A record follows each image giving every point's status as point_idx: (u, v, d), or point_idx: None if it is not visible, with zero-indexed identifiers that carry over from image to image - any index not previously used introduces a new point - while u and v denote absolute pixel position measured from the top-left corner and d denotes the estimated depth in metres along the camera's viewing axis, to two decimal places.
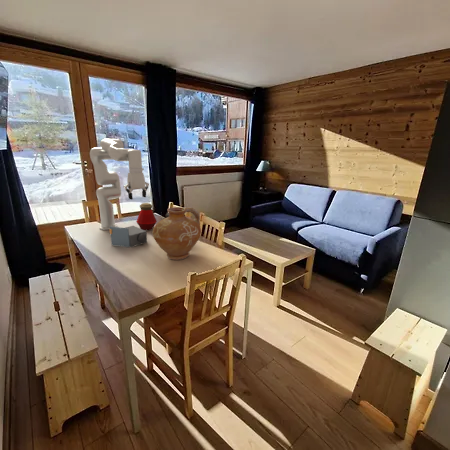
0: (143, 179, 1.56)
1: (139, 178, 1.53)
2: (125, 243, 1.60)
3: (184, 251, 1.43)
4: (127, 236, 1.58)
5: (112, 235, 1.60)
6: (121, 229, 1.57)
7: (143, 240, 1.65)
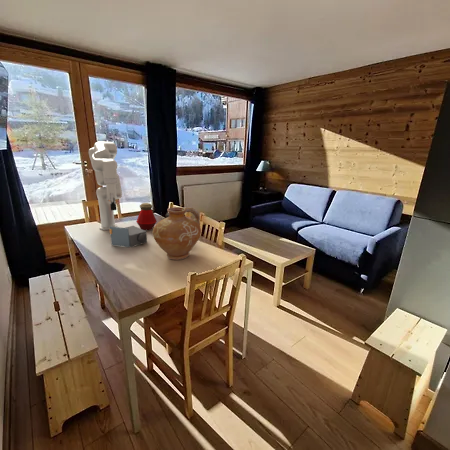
0: None
1: None
2: (125, 243, 1.60)
3: (184, 251, 1.43)
4: (127, 236, 1.58)
5: (112, 235, 1.60)
6: (121, 229, 1.57)
7: (143, 240, 1.65)
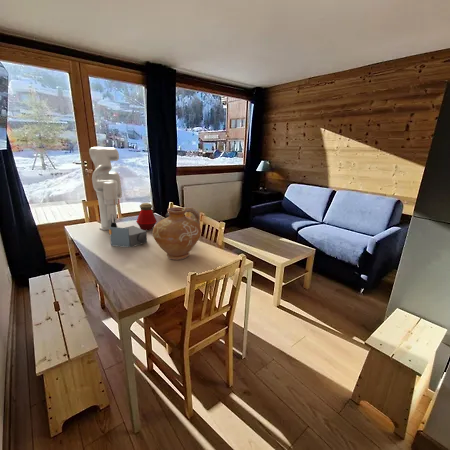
0: None
1: None
2: (125, 243, 1.60)
3: (184, 251, 1.43)
4: (127, 236, 1.58)
5: (111, 235, 1.59)
6: (121, 229, 1.57)
7: (143, 240, 1.65)
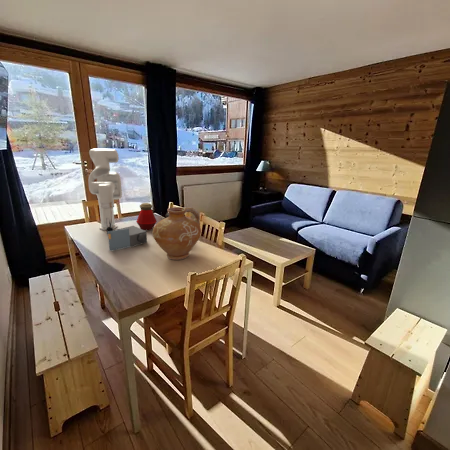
0: None
1: (112, 211, 1.51)
2: (126, 244, 1.58)
3: (184, 251, 1.43)
4: (128, 236, 1.58)
5: (110, 240, 1.52)
6: (121, 231, 1.54)
7: (143, 240, 1.65)
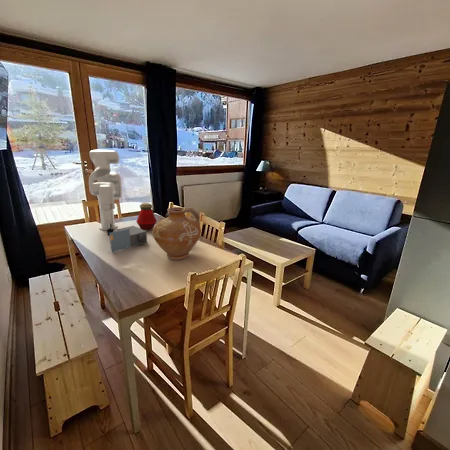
0: None
1: None
2: (126, 244, 1.58)
3: (184, 251, 1.43)
4: (128, 236, 1.58)
5: (112, 241, 1.50)
6: (122, 231, 1.54)
7: (143, 240, 1.65)
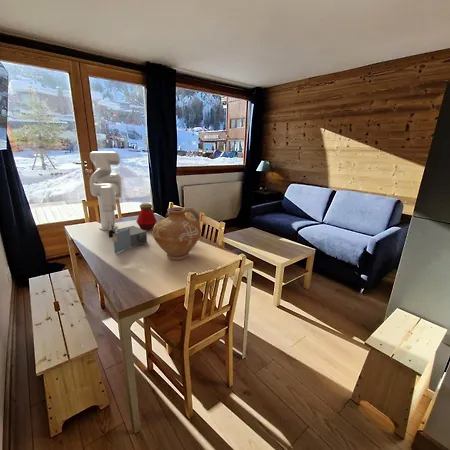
0: None
1: (114, 214, 1.46)
2: (127, 244, 1.58)
3: (184, 251, 1.43)
4: (129, 236, 1.58)
5: (116, 242, 1.49)
6: (124, 231, 1.53)
7: (143, 240, 1.65)
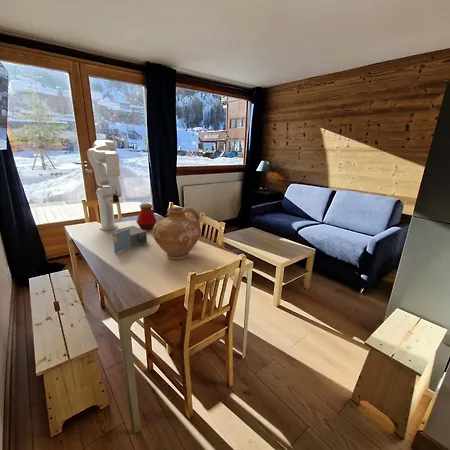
0: None
1: (118, 180, 1.58)
2: (127, 244, 1.58)
3: (184, 251, 1.43)
4: (129, 236, 1.58)
5: (116, 242, 1.49)
6: (124, 231, 1.53)
7: (143, 240, 1.65)
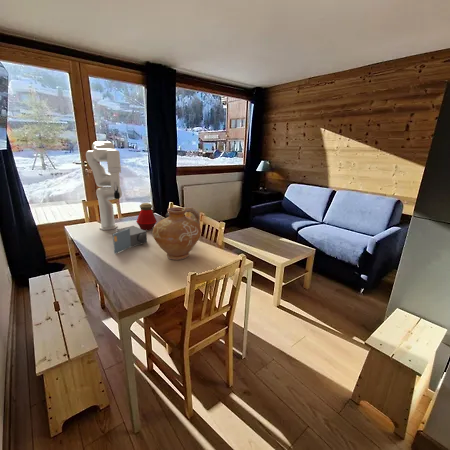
0: None
1: (119, 177, 1.60)
2: (127, 244, 1.58)
3: (184, 251, 1.43)
4: (129, 236, 1.58)
5: (116, 242, 1.49)
6: (124, 231, 1.53)
7: (143, 240, 1.65)
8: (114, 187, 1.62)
